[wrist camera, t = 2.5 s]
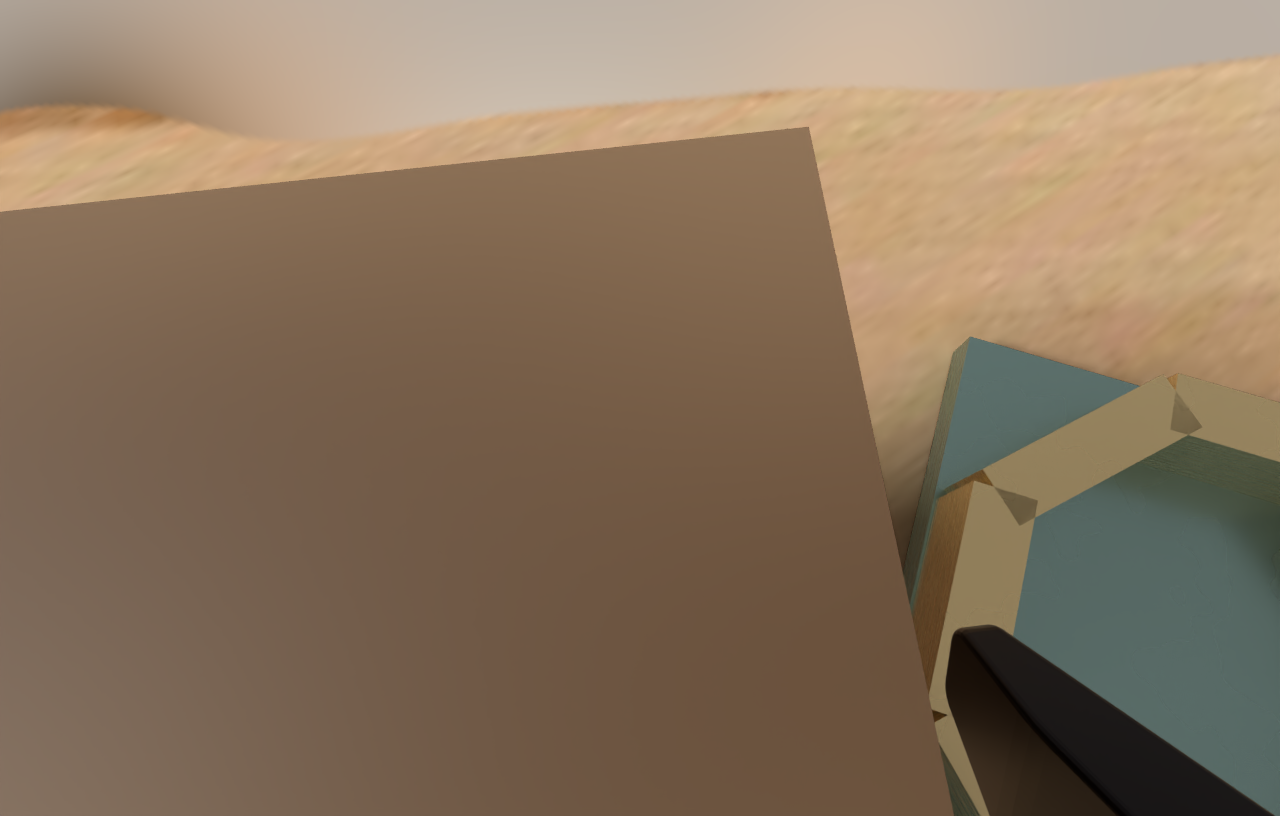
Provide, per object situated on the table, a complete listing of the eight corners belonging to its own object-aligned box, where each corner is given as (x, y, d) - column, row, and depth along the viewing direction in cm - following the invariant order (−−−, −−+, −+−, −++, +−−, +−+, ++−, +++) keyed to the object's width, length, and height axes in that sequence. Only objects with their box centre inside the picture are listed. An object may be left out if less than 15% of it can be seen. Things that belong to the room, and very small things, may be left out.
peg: (712, 745, 16) (1055, 1289, 3) (491, 773, 16) (-349, 1486, 2) (683, 524, 17) (809, 126, 4) (478, 548, 17) (-115, 223, 4)
